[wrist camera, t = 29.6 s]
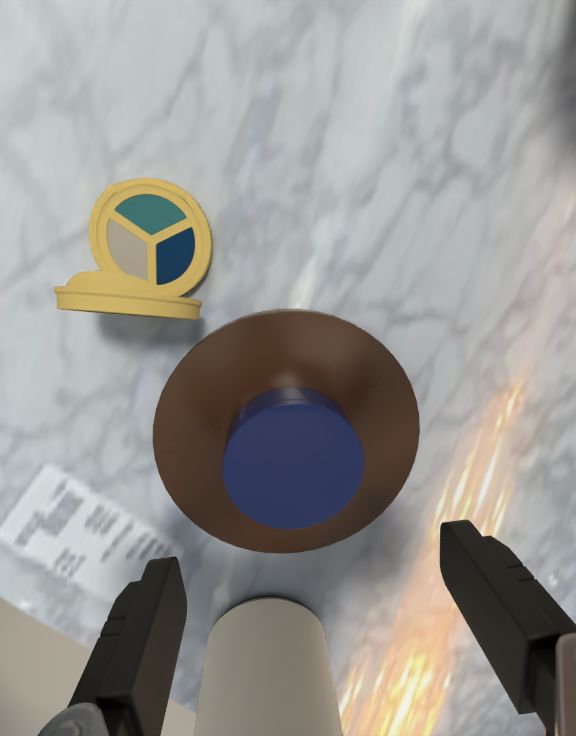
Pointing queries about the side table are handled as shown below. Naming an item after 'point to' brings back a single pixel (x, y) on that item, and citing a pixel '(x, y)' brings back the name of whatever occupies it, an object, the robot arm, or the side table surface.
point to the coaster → (269, 372)
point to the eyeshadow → (143, 253)
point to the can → (267, 674)
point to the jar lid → (292, 459)
